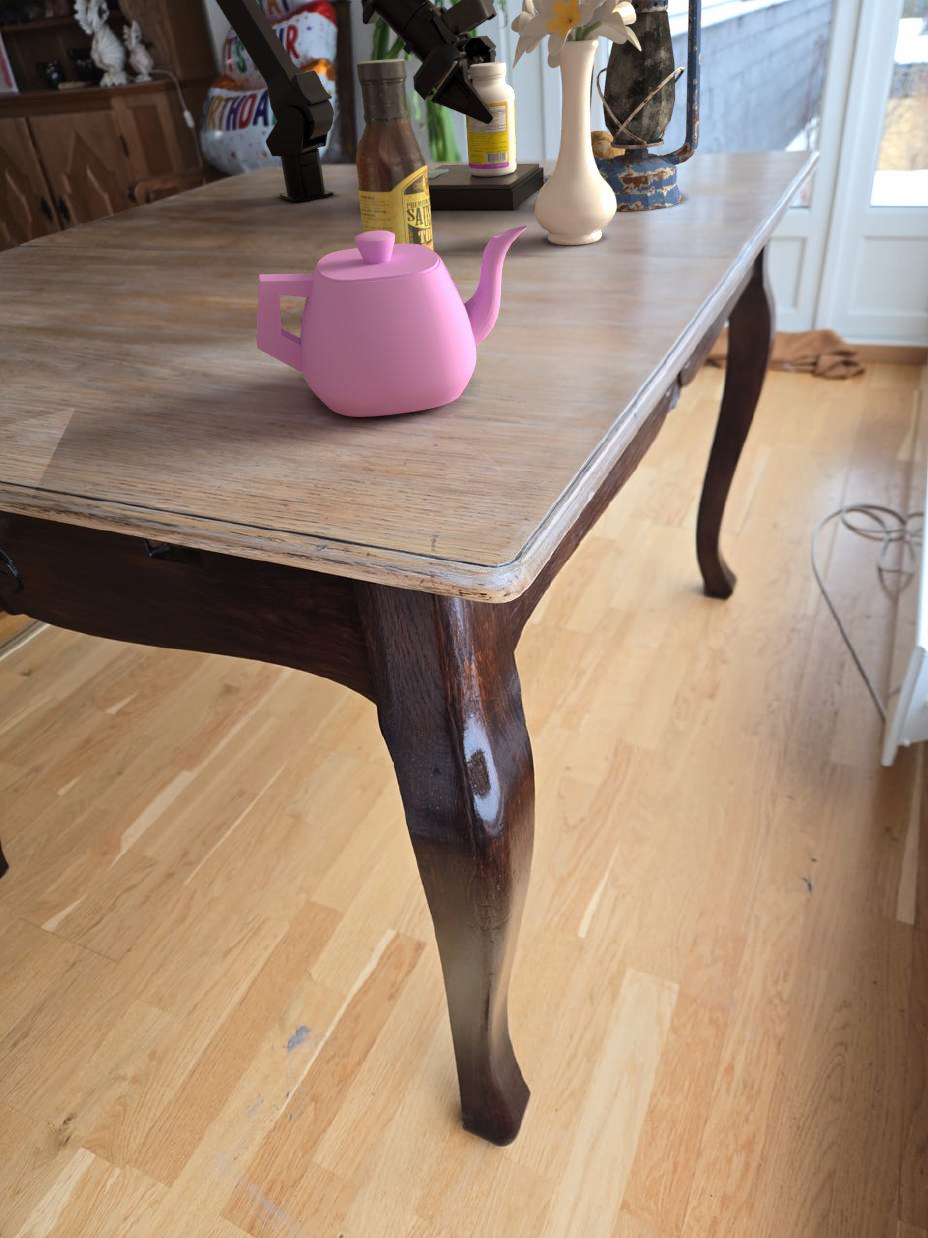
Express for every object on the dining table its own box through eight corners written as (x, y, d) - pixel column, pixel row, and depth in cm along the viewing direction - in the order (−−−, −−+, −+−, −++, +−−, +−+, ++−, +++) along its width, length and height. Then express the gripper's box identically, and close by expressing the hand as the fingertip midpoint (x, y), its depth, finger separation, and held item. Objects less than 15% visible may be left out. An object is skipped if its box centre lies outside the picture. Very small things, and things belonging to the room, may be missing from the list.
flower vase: (605, 216, 107) (613, -36, 92) (647, 251, 92) (664, -41, 78) (502, 225, 107) (493, -26, 92) (528, 263, 92) (522, -30, 77)
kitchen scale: (401, 209, 118) (399, 184, 116) (441, 186, 130) (439, 163, 128) (513, 209, 114) (512, 183, 112) (543, 185, 126) (543, 161, 124)
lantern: (685, 187, 118) (708, -97, 100) (701, 206, 108) (729, -105, 90) (572, 194, 119) (574, -85, 101) (578, 214, 109) (581, -92, 91)
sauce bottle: (429, 318, 79) (406, 61, 67) (364, 318, 80) (330, 65, 68) (444, 296, 84) (426, 54, 72) (383, 297, 85) (355, 59, 74)
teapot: (551, 404, 61) (550, 238, 55) (268, 441, 59) (232, 273, 53) (510, 344, 72) (505, 198, 65) (269, 374, 70) (239, 227, 63)
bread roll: (620, 210, 125) (647, 152, 121) (556, 181, 123) (581, 121, 118) (611, 196, 133) (636, 142, 129) (551, 169, 131) (574, 112, 126)
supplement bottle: (487, 167, 123) (483, 61, 116) (525, 169, 120) (523, 60, 112) (459, 176, 119) (452, 66, 112) (498, 178, 116) (493, 65, 108)
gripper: (428, -37, 100) (522, 71, 103) (477, -39, 114) (559, 56, 117) (374, 48, 107) (464, 146, 110) (427, 37, 121) (505, 124, 124)
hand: (501, 116), depth 115 cm, fingers open, 9 cm apart
